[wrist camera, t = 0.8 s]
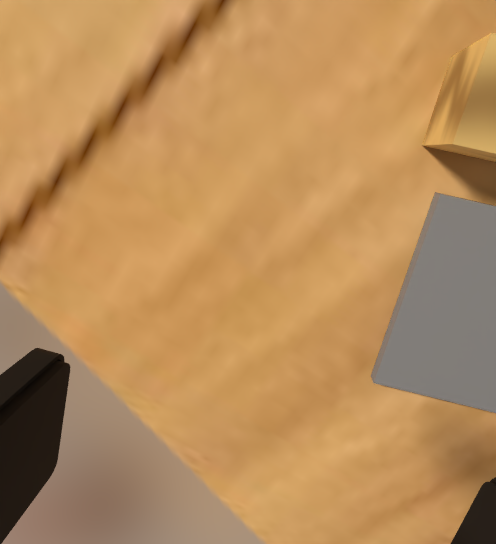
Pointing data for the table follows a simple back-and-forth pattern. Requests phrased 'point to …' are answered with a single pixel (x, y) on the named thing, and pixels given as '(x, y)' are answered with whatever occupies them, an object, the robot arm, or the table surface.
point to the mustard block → (467, 104)
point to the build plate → (447, 309)
